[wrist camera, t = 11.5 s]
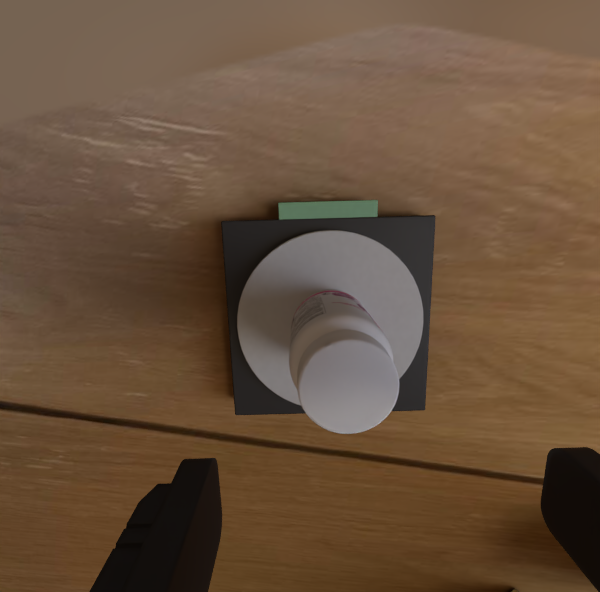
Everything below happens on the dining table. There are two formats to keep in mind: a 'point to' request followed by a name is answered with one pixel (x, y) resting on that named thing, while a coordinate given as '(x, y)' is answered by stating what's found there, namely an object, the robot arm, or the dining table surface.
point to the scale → (319, 277)
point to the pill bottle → (341, 364)
